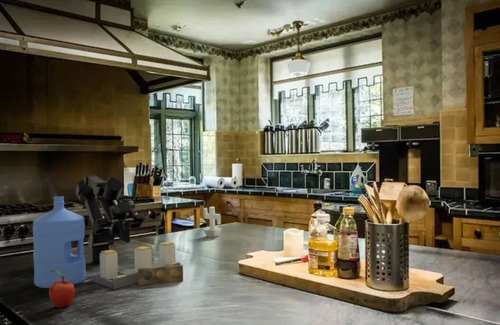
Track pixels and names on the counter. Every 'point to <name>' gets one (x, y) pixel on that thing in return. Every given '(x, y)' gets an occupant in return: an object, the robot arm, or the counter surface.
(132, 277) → the button board
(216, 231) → the figurine
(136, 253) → the button middle
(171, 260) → the button right
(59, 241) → the water jug
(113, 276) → the button left
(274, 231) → the counter surface
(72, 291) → the apple
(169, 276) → the plaque
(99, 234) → the robot arm
